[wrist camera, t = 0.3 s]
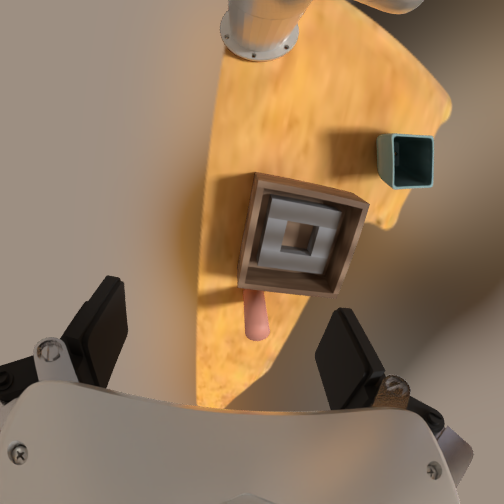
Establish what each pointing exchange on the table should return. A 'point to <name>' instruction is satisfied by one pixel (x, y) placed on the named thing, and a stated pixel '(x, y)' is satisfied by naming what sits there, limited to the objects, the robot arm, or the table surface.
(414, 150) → the flower pot
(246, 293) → the peg
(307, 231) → the open box
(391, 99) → the table surface
